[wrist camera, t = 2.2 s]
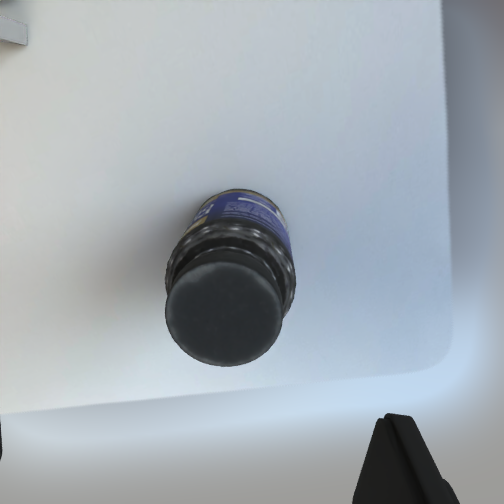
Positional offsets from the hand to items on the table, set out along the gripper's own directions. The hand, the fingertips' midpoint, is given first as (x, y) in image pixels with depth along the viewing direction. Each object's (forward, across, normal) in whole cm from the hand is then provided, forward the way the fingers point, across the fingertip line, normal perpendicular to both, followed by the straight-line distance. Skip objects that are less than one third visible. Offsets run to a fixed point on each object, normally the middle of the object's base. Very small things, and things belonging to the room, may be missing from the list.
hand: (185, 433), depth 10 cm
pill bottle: (+18, -1, 0) cm, 18 cm away
